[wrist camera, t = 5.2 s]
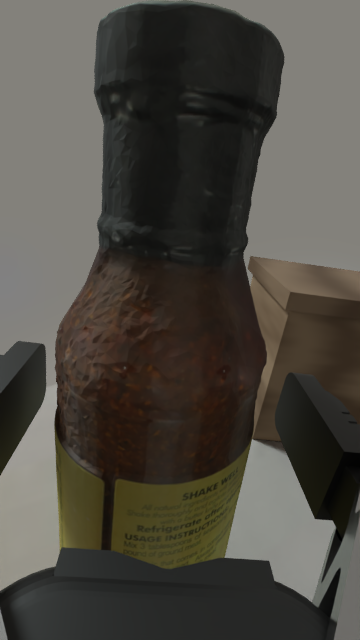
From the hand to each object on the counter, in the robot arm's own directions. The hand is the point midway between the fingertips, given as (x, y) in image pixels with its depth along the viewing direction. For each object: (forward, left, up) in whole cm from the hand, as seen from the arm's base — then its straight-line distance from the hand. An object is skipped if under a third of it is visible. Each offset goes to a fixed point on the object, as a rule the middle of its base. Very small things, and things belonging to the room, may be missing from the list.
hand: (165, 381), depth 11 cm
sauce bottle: (0, +1, -11) cm, 11 cm away
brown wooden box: (-13, -15, -11) cm, 23 cm away
